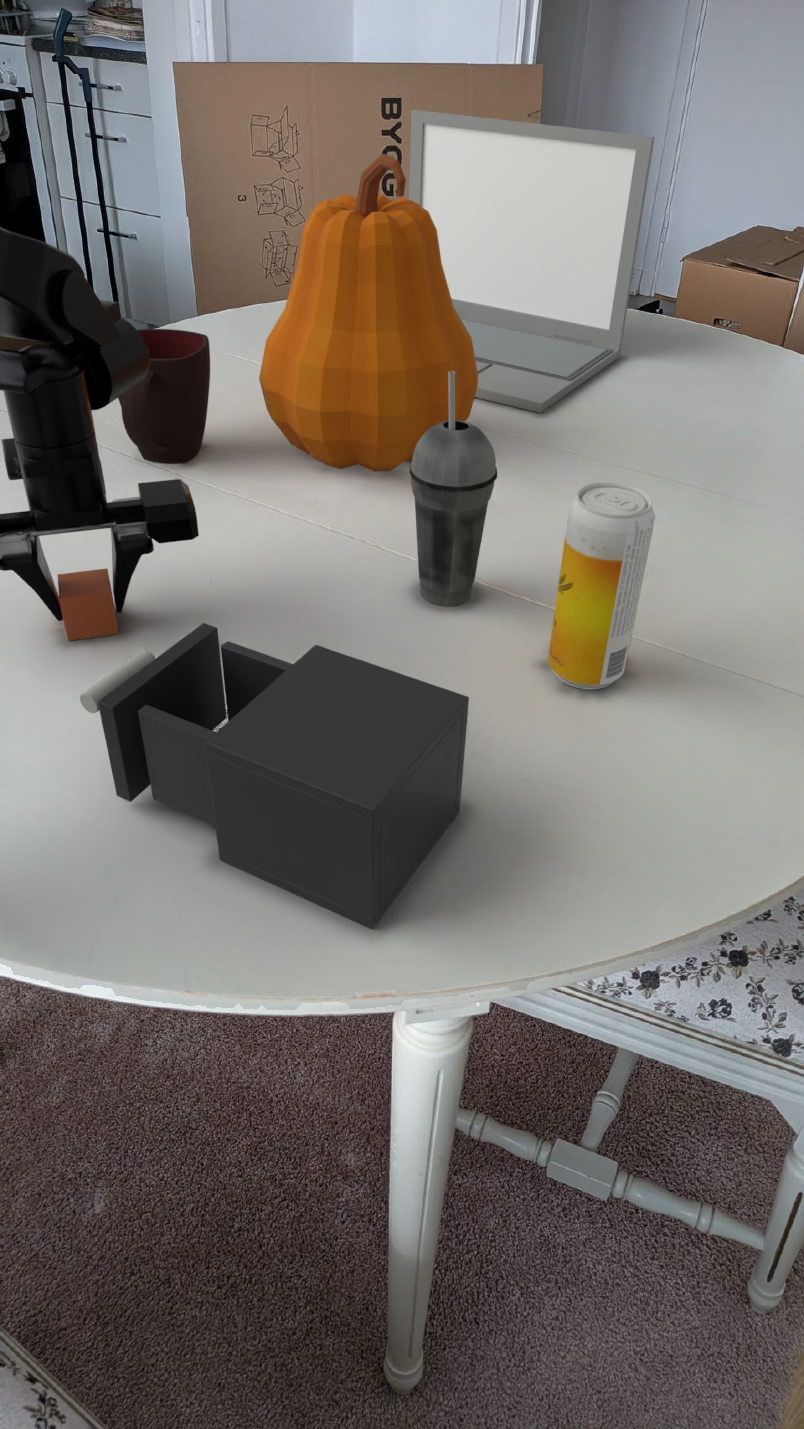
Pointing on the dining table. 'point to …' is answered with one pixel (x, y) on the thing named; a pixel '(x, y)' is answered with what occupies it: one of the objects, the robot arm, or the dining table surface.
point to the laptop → (533, 244)
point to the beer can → (600, 583)
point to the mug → (170, 397)
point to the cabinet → (338, 781)
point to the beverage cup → (451, 504)
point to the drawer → (176, 715)
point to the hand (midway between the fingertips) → (89, 614)
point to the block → (87, 604)
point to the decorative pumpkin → (367, 333)
